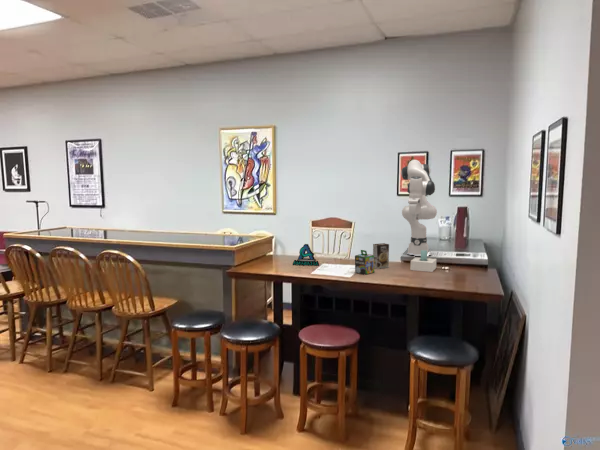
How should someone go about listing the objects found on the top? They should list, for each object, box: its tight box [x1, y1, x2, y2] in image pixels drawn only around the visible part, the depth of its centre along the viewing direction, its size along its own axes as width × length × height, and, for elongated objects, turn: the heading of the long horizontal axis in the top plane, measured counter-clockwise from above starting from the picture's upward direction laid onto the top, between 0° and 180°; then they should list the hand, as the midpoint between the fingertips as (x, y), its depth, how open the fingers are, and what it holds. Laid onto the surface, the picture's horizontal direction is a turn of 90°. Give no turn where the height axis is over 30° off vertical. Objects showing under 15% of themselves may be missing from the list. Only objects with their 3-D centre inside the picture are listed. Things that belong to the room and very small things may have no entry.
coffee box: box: [372, 242, 390, 270], centre depth 280 cm, size 9×6×16 cm
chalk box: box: [354, 249, 375, 276], centre depth 266 cm, size 9×9×15 cm
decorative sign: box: [292, 243, 320, 267], centre depth 291 cm, size 19×2×15 cm, turn 76°
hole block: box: [409, 256, 437, 273], centre depth 275 cm, size 14×14×6 cm
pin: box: [420, 250, 428, 261], centre depth 274 cm, size 4×4×10 cm
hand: (415, 220), depth 284 cm, fingers open, 8 cm apart
